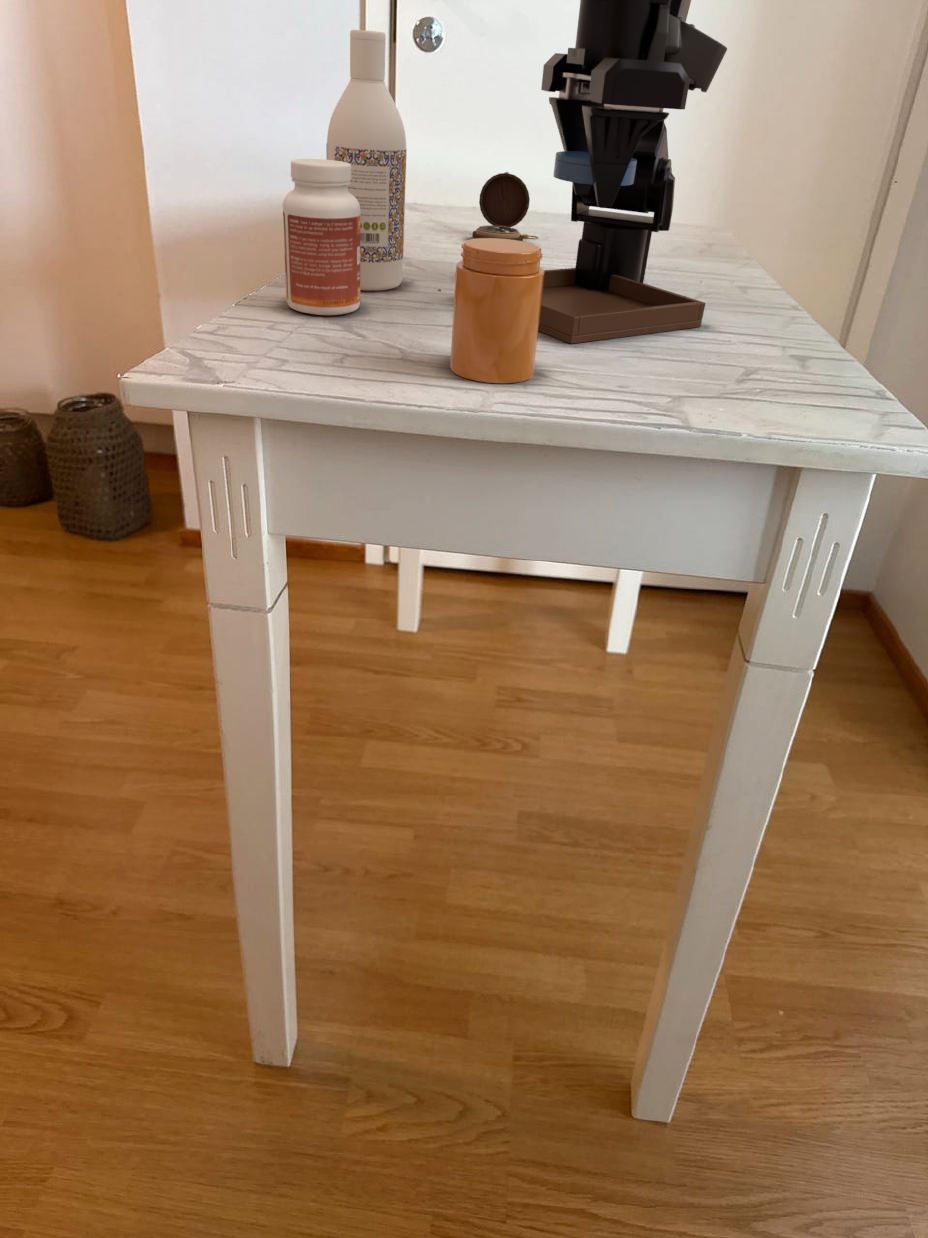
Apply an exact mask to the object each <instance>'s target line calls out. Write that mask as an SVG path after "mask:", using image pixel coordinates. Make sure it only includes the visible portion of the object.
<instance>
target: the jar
mask: <svg viewBox="0 0 928 1238" xmlns="http://www.w3.org/2000/svg"><path fill="white" fill-rule="evenodd" d="M461 249H462V251H461V253H460V257H461V258H462V260H460V261H458V262H456V264H455V277H454V279H455V280H454V293H453V294H454V295H453V311H452V313H453V314H452V329H451V344H450V346H451V347H450V362H449V363H450V364H449V368H450V371H451V372H452V373H453V374H454V375H456V376H459V377H461V378H464V379H467V380H471V381H475V382H481V383H488V384H513V383H514V384H516V383H521V382H525V381H527V380H530V379H532V377H534V374H535V364H536V355H537V348H538V347H537V346H538V339H539V338H538V336H539V331H538V330H539V321H540V312H541V303H542V294H543V285H544V276H545V271H544V270H545V269H544V268H542V267H540V265H541V260H543V253H542V248H541V247H540V246H539V245H537V244H535V243H531V242H527V241H524V240H523V241H518V240H510V239H499V238H477V239H473V238H470V239H467V240H464V242H463V243H462V244H461Z"/></svg>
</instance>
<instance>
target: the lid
mask: <svg viewBox="0 0 928 1238" xmlns="http://www.w3.org/2000/svg"><path fill="white" fill-rule="evenodd" d="M554 158H555V159H554V167H553V177H554V178H555V179H557V180H560V181H565V182H569V183H572V182H575V183H582V184H591V185H594V184H593V177H592V170H591V164H590V157H589V152H583V151H564V150H563V151H558V152H555V157H554ZM636 164H637V160H636V159H634V158H632V159H631V161H630V164H629V166H628V169H627V171H626V174H625V176H624V178H623V181H622V183H621V186H626V185H632V184H633V183H634V177H635V171H636Z"/></svg>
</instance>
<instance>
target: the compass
mask: <svg viewBox="0 0 928 1238" xmlns="http://www.w3.org/2000/svg"><path fill="white" fill-rule="evenodd" d="M478 200H479V201H478V204H479V209H480V212H481V215H482V216H483V218H484V219H485V221H486V222H487V223H488V224H490V225H480V226H478V227H477V228H476V229H475V230H473V231H472V235H471V236H472V239H477V238H499V239H510V240H518V241H523V242H524V240H539V236H535V235H529V234H525V233H524V234H521V232H520V231H519V230H518V229H517V228H514V227H515V226H517V225H519V224H520V223H521V222H522V221H523V220H524V218H525V217H526V216H527V213H528V210H529V207H530V201H531V200H530V193H529V189H528V188H527V185H526V183H525V182H524V181H523V180H522V179H521V178H520V177H518V175H515V174H512V173H510V172H509V171H505V172H501V173H497V174H494V175H492V176H491V177H490V178H489V179H487V180H486V181H485V183H484V184H483V186H482V188H481V190H480V193H479V199H478Z"/></svg>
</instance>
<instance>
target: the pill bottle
mask: <svg viewBox="0 0 928 1238" xmlns="http://www.w3.org/2000/svg"><path fill="white" fill-rule="evenodd" d="M290 177H291V182H293V183H294V188H293V189H292V190H290V191H289V192H288V193H286V195H285V196H284V198H283V201H282V224H283V249H284V275H285V296H286V303H287V305H288V307H289V308H290V309H292V310H295V311H296V312H300V313H305V314H309V315H315V316H340V315H345V314H351V313H353V312H355V311H357V310H358V309H359V308H360V305H361V290H360V205H359V202H358V200H357V199H356V198H355V197H354V196H353V195H352V194H350V193H349V192H348V185H349V184H351V182H350V181H351V179H352V178H351V164H350V163H347V162H342V161H334V160H327V159H323V158H321V159H319V158H297V159H292V160H290Z"/></svg>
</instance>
